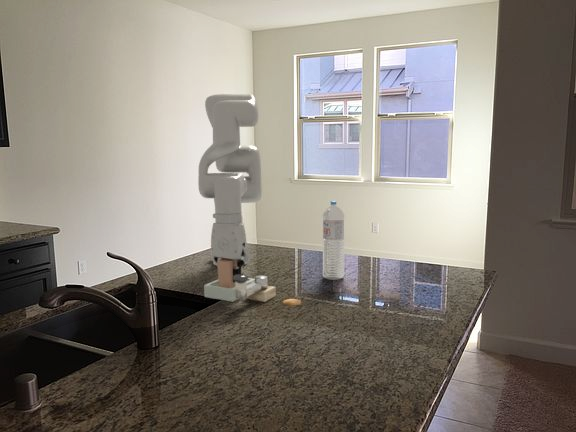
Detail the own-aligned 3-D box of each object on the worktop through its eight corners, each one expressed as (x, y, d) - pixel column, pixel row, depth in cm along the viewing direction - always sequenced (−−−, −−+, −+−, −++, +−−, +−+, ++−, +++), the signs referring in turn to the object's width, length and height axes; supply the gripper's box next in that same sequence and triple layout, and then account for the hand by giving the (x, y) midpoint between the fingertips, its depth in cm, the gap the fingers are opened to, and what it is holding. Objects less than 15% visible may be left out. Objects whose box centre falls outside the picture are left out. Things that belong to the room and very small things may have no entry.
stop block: (218, 287, 143) (217, 260, 141) (231, 280, 148) (229, 255, 146) (230, 289, 141) (228, 262, 139) (242, 282, 146) (240, 256, 144)
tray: (204, 296, 142) (204, 285, 141) (229, 285, 152) (228, 274, 152) (232, 302, 137) (232, 290, 137) (256, 290, 147) (255, 279, 147)
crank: (258, 284, 143) (258, 264, 142) (270, 286, 141) (270, 266, 140) (230, 298, 131) (230, 276, 130) (243, 300, 129) (242, 278, 128)
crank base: (246, 299, 140) (246, 289, 139) (258, 293, 145) (258, 284, 144) (294, 307, 132) (294, 297, 132) (305, 301, 137) (305, 291, 137)
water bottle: (344, 280, 157) (345, 202, 153) (323, 280, 157) (323, 202, 153) (342, 274, 163) (343, 199, 159) (322, 274, 164) (322, 200, 160)
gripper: (197, 218, 142) (199, 279, 145) (245, 222, 134) (247, 287, 137) (213, 214, 148) (215, 273, 151) (260, 218, 140) (261, 280, 143)
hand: (230, 279), depth 144 cm, fingers closed on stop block, 4 cm apart
